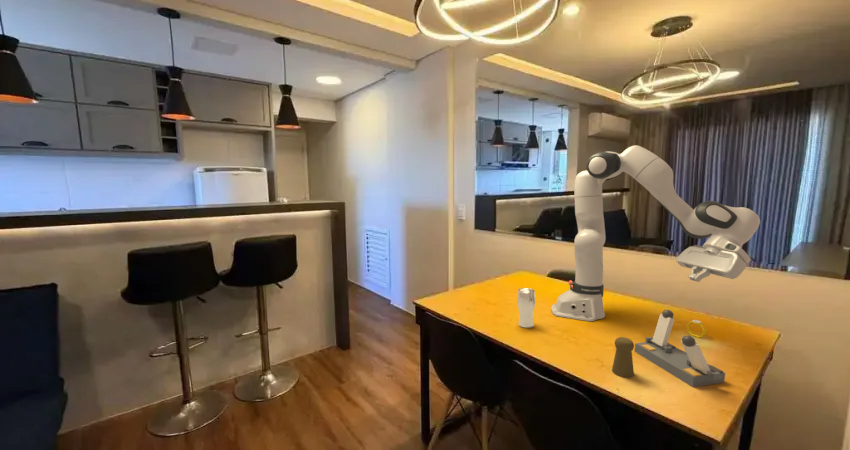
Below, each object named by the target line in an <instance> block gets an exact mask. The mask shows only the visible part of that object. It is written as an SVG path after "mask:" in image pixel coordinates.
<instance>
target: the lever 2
mask: <svg viewBox="0 0 850 450" xmlns="http://www.w3.org/2000/svg"><path fill="white" fill-rule="evenodd" d="M680 343H681V345H682V348H683V349H684V352H686V353H687V356H688V358H689V360H690V362H691V366H693V367H694V368H695V369H697V370H699V371H701V372H703V373H704V374H707V375H709V376H711V373H712V372H710V368H709V366H708V364H709V363H707V360H706V358H705V356H704V354H703V352H702V349H701V347H700V345H699V343H696V339H695V337H694V336H693V335H690V334H689V335H686V334H685V335H684V336H683V337H682V338H681V340H680Z"/></svg>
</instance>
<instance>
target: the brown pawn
mask: <svg viewBox="0 0 850 450" xmlns="http://www.w3.org/2000/svg"><path fill="white" fill-rule="evenodd" d="M614 345H615V353H614V358H613V364H612V366H611V371H612V374H614V375H615V376H617V377H620V378H626V379H629V378H633V377H634V376H635V373H634V361H633V350H634V349H635V344H634V342H633V340H632V339H630V338H627V337H623V336H618V337H616V339H615V340H614Z"/></svg>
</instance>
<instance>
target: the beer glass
mask: <svg viewBox="0 0 850 450" xmlns="http://www.w3.org/2000/svg"><path fill="white" fill-rule="evenodd" d="M535 305H536V291H535V289H533V288H529V287H522V288H519V289H518V292H517V307H518V314H519V320H518V326H519V327H521V328H523V329H531V328H533V327H534V326H535V325H534V321H533V320H534V317H533V316H534V311H535V308H536V307H535Z"/></svg>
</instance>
